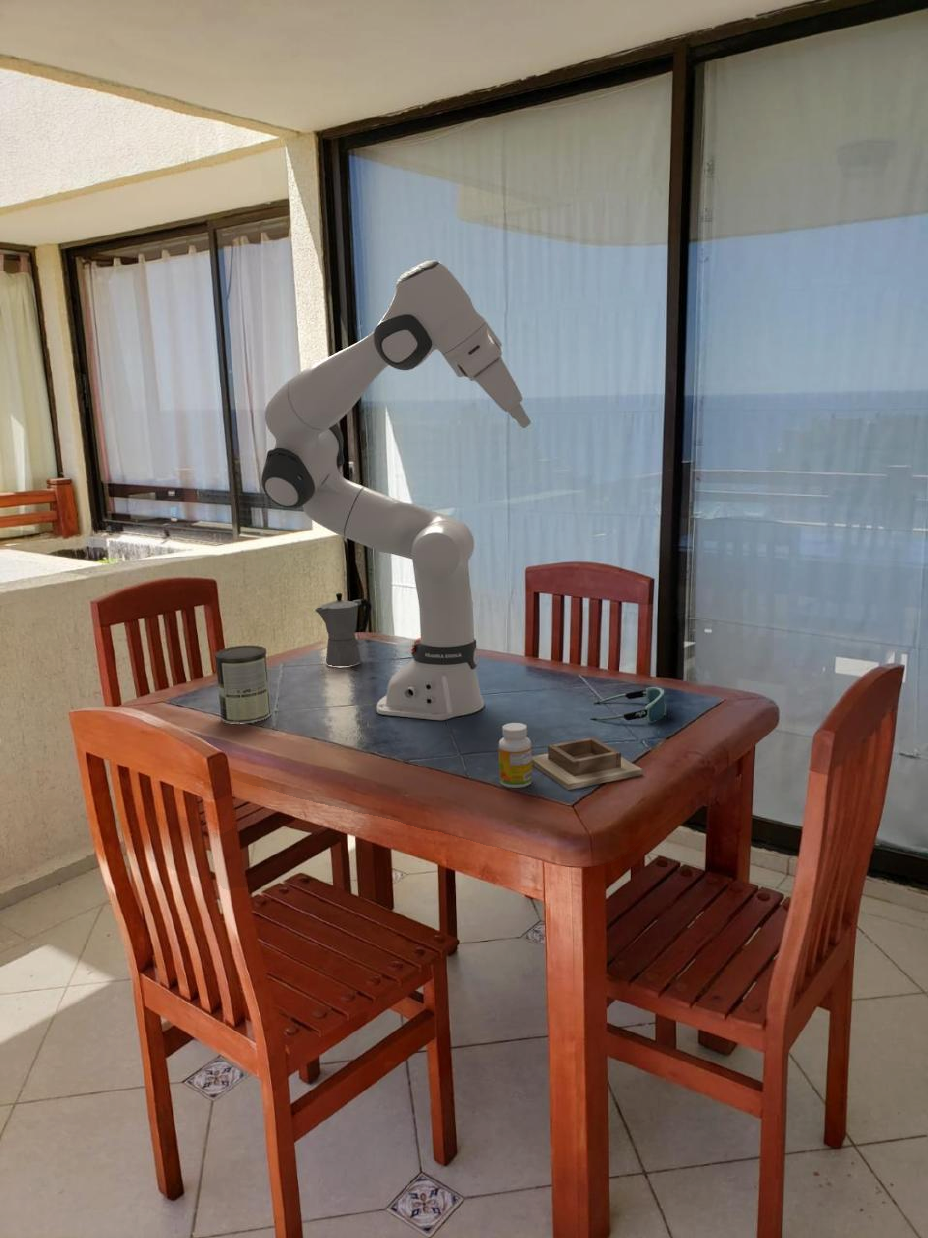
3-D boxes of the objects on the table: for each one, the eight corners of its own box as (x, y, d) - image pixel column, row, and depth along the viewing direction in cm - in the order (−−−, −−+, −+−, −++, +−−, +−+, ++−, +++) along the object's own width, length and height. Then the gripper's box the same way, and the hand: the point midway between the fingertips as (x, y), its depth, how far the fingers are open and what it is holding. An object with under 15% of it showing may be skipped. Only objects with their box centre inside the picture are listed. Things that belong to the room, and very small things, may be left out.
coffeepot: (328, 672, 226) (323, 599, 222) (311, 664, 234) (306, 594, 230) (383, 661, 235) (379, 590, 231) (364, 654, 242) (360, 586, 238)
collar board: (568, 790, 150) (568, 769, 149) (528, 762, 163) (528, 743, 162) (641, 774, 155) (642, 755, 155) (598, 749, 168) (598, 730, 167)
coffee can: (210, 720, 192) (203, 654, 189) (248, 706, 201) (242, 643, 198) (244, 728, 186) (238, 660, 184) (281, 714, 195) (276, 648, 192)
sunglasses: (668, 726, 179) (664, 701, 179) (591, 733, 183) (587, 709, 182) (667, 704, 193) (664, 680, 192) (595, 711, 196) (592, 688, 195)
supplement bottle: (497, 777, 156) (496, 722, 154) (529, 775, 157) (528, 720, 155) (501, 790, 151) (500, 733, 149) (534, 787, 152) (533, 731, 150)
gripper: (452, 357, 162) (498, 421, 167) (464, 371, 143) (516, 443, 148) (482, 334, 161) (527, 399, 166) (498, 345, 142) (548, 418, 147)
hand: (522, 420), depth 157 cm, fingers open, 8 cm apart
